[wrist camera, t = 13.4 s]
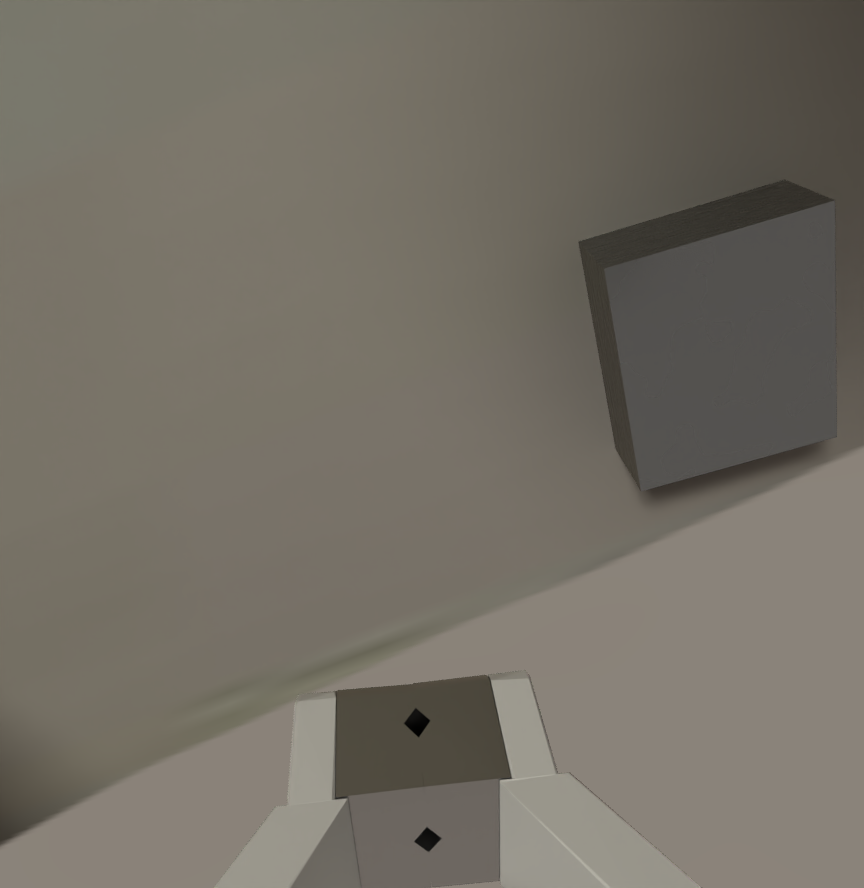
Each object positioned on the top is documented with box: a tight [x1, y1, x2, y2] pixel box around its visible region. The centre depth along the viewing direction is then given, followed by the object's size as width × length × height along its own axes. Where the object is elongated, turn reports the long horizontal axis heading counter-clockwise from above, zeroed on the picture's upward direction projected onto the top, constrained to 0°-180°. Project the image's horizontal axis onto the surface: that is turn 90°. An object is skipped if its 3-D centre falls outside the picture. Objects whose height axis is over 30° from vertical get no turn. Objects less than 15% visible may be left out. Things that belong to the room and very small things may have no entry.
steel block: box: [579, 180, 837, 491], centre depth 19 cm, size 6×5×2 cm
